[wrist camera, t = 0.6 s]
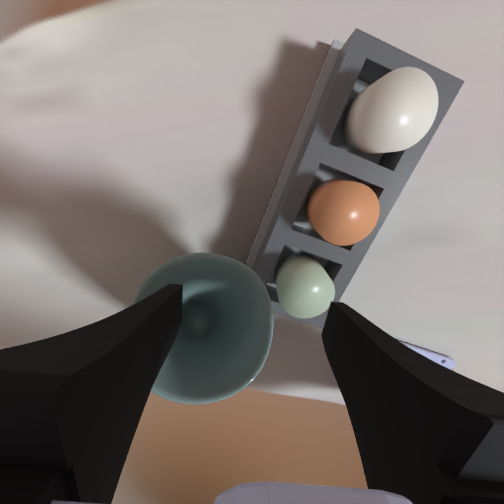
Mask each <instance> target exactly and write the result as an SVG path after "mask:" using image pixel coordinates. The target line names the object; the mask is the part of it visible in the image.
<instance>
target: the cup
mask: <svg viewBox="0 0 504 504" xmlns="http://www.w3.org/2000/svg"><path fill="white" fill-rule="evenodd" d="M168 284H179V285H183V300H182V322H181V325H180V328H179V331H178V334H177V336H176V339H175V341H174V343H173V345H172V347H171V350H170V352H169V354H168V356H167V358H166V360H165V362H164V364H163V366H162V368H161V370H160V372H159V374H158V376H157V378H156V380H155V382H154V384H153V387H152V389H151V392H152V393H154V394H156V395H158V396H160V397H162V398H164V399H166V400H170V401H173V402H177V403H181V404H195V405H198V404H206V403H214V402H217V401H220V400H223V399H226V398H229V397H231V396H233V395H235V394H236V393H238V392H240V391H242V390H243V389H244V388H245V387H246V386H248V385H249V384H250V383H251V382H252V381H253V380H254V379H255V378H256V376H257V375H258V373H259V372H260V371H261V369H262V368H263V365H264V363H265V361H266V359H267V357H268V354H269V351H270V347H271V343H272V337H273V328H274V322H273V309H272V304H271V299H270V297H269V294H268V292H267V289H266V287H265V285H264V284H263V282H262V280H261V279H260V277H259V276H258V275H257V274H256V273H255V272H254V271H253V270H252V269H251V268H250V267H248V266H246V265H245V264H243V263H242V262H240V261H238V260H236V259H233V258H231V257H228V256H224V255H220V254H215V253H192V254H185V255H182V256H178V257H175V258H172V259H170V260H168V261H166V262H165V263H163V264H161V265H159V266H158V267H157V268H156V269H155V270H154V271H152V272H151V273H150V274H149V275H148V276H147V278H146V279H145V280H144V282H143V283H142V284H141V286H140V287H139V289H138V291H137V293H136V295H135V297H134V299H133V301H132V304H131V306H132V305H134V304H136V303H138V302H139V301H141V300H143V299H145V298H146V297H148V296H150V295H151V294H153V293H155V292H156V291H158V290H160V289H161V288H163V287H165V286H166V285H168Z"/></svg>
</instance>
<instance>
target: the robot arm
mask: <svg viewBox="0 0 504 504" xmlns="http://www.w3.org/2000/svg"><path fill="white" fill-rule="evenodd" d="M182 300H183V285H179V284H168V285H166V286H165V287H163V288H161V289H160V290H158V291H156V292H155V293H153V294H151V295H150V296H148V297H146V298H145V299H143V300H141V301H139V302H138V303H136V304H134V305H132V306H130V307H128V308H126V309H124V310H122V311H120V312H118V313H116V314H114V315H112V316H110V317H107V318H105V319H102V320H100V321H98V322H95V323H93V324H90V325H87V326H84V327H81V328H78V329H76V330H73V331H70V332H67V333H64V334H60V335H57V336H54V337H50V338H47V339H43V340H39V341H36V342H32V343H28V344H24V345H19V346H15V347H10V348H5V349H1V350H0V504H111V502H112V499H113V496H114V493H115V490H116V487H117V484H118V481H119V478H120V475H121V472H122V468H123V466H124V463H125V460H126V457H127V454H128V451H129V448H130V446H131V443H132V440H133V437H134V434H135V432H136V429H137V426H138V423H139V420H140V418H141V415H142V412H143V410H144V407H145V404H146V402H147V399H148V396H149V394H150V391H151V389H152V387H153V384H154V382H155V380H156V378H157V376H158V374H159V372H160V370H161V368H162V366H163V364H164V362H165V360H166V358H167V356H168V354H169V352H170V350H171V347H172V345H173V343H174V341H175V339H176V336H177V334H178V331H179V328H180V325H181V322H182ZM322 340H323V344H324V348H325V352H326V355H327V358H328V360H329V363H330V366H331V368H332V371H333V373H334V376H335V378H336V381H337V383H338V386H339V388H340V391H341V393H342V396H343V398H344V401H345V404H346V407H347V409H348V413H349V416H350V420H351V423H352V426H353V430H354V433H355V437H356V441H357V445H358V449H359V453H360V456H361V460H362V464H363V468H364V473H365V477H366V481H367V486H368V489H359V488H346V487H333V486H320V485H306V484H293V483H292V484H291V483H279V482H266V481H265V482H253V483H242V484H239V485H237V486H235V487H232V488H231V489H228V490H226V491H224V492H222V493H221V494H220V495H219V496H218V497H217V498H216V499H215V501H214V502H213V504H504V393H503V392H500V391H497V390H495V389H493V388H490V387H488V386H486V385H483V384H481V383H479V382H476V381H474V380H471V379H469V378H467V377H465V376H463V375H461V374H458V373H456V372H454V371H453V370H452V368H453V367H454V366H455V364H456V362H455V360H454V359H452V358H450V357H447V356H444V355H441V354H438V353H434V352H431V351H428V350H425V349H422V348H419V347H416V346H413V345H410V344H407V343H404V342H401V341H398V340H396V339H395V338H393V337H392V336H390V335H389V334H387V333H386V332H384V331H383V330H381V329H380V328H379V327H377V326H376V325H374V324H373V323H372V322H370V321H369V320H367V319H366V318H365V317H363V316H362V315H361V314H359V313H358V312H356V311H355V310H354V309H352V308H351V307H349V306H348V305H346V304H344V303H341V302H332V301H331V303H330V306H329V310H328V313H327V317H326V321H325V324H324V328H323V331H322Z"/></svg>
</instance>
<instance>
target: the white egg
mask: <svg viewBox="0 0 504 504" xmlns="http://www.w3.org/2000/svg"><path fill="white" fill-rule="evenodd" d="M437 110H438V92H437V88H436V85H435V83H434V81H433V79H432V78H431V77H430V76H429V75H428V74H427V73H426V72H424V71H423V70H421V69H418V68H414V67H402V68H398V69H395V70H393V71H391V72H389V73H387V74H386V75H384V76H383V77H381V78H380V79H378V80H377V81H376V82H374V83H373V84H371V85H370V86H368V87H367V88H365V89H364V90H362V91H361V92H360V93H358V94H357V95H356V96H355V97H354V98H353V99H352V101H351V102H350V104H349V105H348V107H347V109H346V111H345V114H344V118H343V133H344V137H345V140H346V141H347V143H348V145H349V146H350V147H351V148H352V149H353V150H355V151H357V152H359V153H362V154H377V153H387V152H397V151H402V150H405V149H407V148H410V147H411V146H413V145H415V144H416V143H417V142H419V141H420V140H421V139H422V138H423V137H424V136H425V135H426V133H427V132H428V131H429V129H430V128H431V126H432V124H433V122H434V120H435V117H436V114H437Z"/></svg>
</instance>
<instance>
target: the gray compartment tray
mask: <svg viewBox="0 0 504 504" xmlns="http://www.w3.org/2000/svg"><path fill="white" fill-rule="evenodd" d="M402 67H414V68H418V69H421V70H423V71H424V72H426V73H427V74H428V75H429V76H430V77H431V78H432V79H433V81H434V83H435V85H436V88H437V92H438V110H437V114H436V117H435V120H434V122H433V124H432V126H431V128H430V129H429V131H428V132H427V133H426V135H425V136H424V137H423V138H422V139H421V140H420V141H419V142H417V143H416V144H415V145H413V146H411V147H410V148H407V149H405V150H402V151H397V152H387V153H377V154H362V153H359V152H357V151H355V150H353V149H352V148H351V147H350V146H349V145H348V143H347V141H346V140H345V137H344V133H343V118H344V114H345V111H346V109H347V107H348V105H349V104H350V102H351V101H352V99H353V98H354V97H355V96H356V95H357V94H358V93H360V92H361V91H362V90H364V89H365V88H367V87H368V86H370V85H371V84H373V83H374V82H376V81H377V80H378V79H380V78H381V77H383V76H384V75H386V74H387V73H389V72H391V71H393V70H395V69H398V68H402ZM463 83H464V81H463V80H461V79H459V78H457V77H455V76H453V75H451V74H449V73H447V72H445V71H443V70H440V69H438V68H436V67H434V66H432V65H430V64H428V63H426V62H424V61H422V60H420V59H418V58H416V57H414V56H412V55H410V54H408V53H406V52H404V51H402V50H400V49H398V48H396V47H394V46H392V45H390V44H388V43H386V42H384V41H382V40H380V39H378V38H376V37H373V36H371V35H369V34H367V33H365V32H363V31H361V30H359V29H357V28H356V29H355V31H354V32H353V33H352V35H351V36H350V37H349V39H348V40H347V41H346V43H343V42H340V41H338V40H336V39H334V41H333V42H332V44H331V46H330V48H329V51H328V53H327V56H326V58H325V61H324V64H323V66H322V69H321V71H320V74H319V76H318V79H317V81H316V84H315V87H314V89H313V92H312V94H311V97H310V99H309V102H308V105H307V107H306V110H305V112H304V115H303V117H302V120H301V122H300V125H299V128H298V130H297V133H296V135H295V138H294V140H293V143H292V146H291V148H290V151H289V153H288V156H287V158H286V161H285V164H284V166H283V169H282V171H281V174H280V176H279V179H278V181H277V184H276V187H275V189H274V192H273V194H272V197H271V199H270V202H269V205H268V207H267V210H266V212H265V215H264V217H263V220H262V222H261V225H260V228H259V230H258V233H257V235H256V238H255V240H254V243H253V246H252V248H251V251H250V253H249V256H248V258H247V261H246V263H245V265H246V266H248V267H250V268H251V269H252V270H253V271H254V272H255V273H256V274H257V275H258V276H259V277H260V279H261V280H262V282H263V284H264V285H265V287H266V289H267V292H268V294H269V297H270V299H271V304H272V309H273V313H277V314H280V315H283V316H286V317H289V318H292V319H295V320H298V321H302V322H305V323H308V324H311V325H314V326H317V327H320V328H324V324H325V321H326V317H327V313H328V310H329V308H328V309H327V310H326V311H325V312H323V313H322V314H320V315H318V316H316V317H312V318H297V317H294V316H291V315H289V314H288V313H286V312H285V311H284V310H283V309H282V307H281V305H280V303H279V300H278V295H277V290H276V285H275V279H274V274H275V270H276V267H277V266H278V264H279V263H280V262H281V261H282V260H283V259H284V258H285V257H287V256H289V255H292V254H296V253H305V254H309V255H311V256H313V257H315V258H316V259H317V260H318V261H319V263H320V264H321V265H322V267H323V268H324V270H325V271H326V273H327V274H328V276H329V277H330V278H331V280H332V282H333V284H334V287H335V296H334V300H333V302H339V300H340V298H341V296H342V295H343V293H344V291H345V289H346V288H347V286H348V284H349V282H350V281H351V279H352V277H353V275H354V274H355V272H356V270H357V268H358V267H359V265H360V263H361V261H362V260H363V258H364V256H365V254H366V253H367V251H368V249H369V247H370V246H371V244H372V242H373V240H374V239H375V237H376V235H377V233H378V232H379V230H380V228H381V226H382V225H383V223H384V221H385V219H386V218H387V216H388V214H389V212H390V211H391V209H392V207H393V205H394V204H395V202H396V200H397V198H398V197H399V195H400V193H401V191H402V190H403V188H404V186H405V184H406V183H407V181H408V179H409V177H410V176H411V174H412V172H413V170H414V169H415V167H416V165H417V163H418V162H419V160H420V158H421V156H422V155H423V153H424V151H425V149H426V148H427V146H428V144H429V142H430V141H431V139H432V137H433V135H434V134H435V132H436V130H437V128H438V127H439V125H440V123H441V121H442V120H443V118H444V116H445V114H446V113H447V111H448V109H449V107H450V106H451V104H452V102H453V101H454V99H455V97H456V95H457V94H458V92H459V90H460V88H461V87H462V85H463ZM330 179H340V180H346V181H353V182H359V183H362V184H364V185H366V186H368V187H369V188H371V189H372V190H373V192H374V193H375V194H376V196H377V198H378V201H379V205H380V213H379V218H378V221H377V223H376V226H375V227H374V229H373V230H372V231H371V233H370V234H369V235H368V236H367V237H365V238H364V239H363V240H361V241H359V242H357V243H355V244H352V245H346V246H339V245H334V244H331V243H329V242H328V241H326V240H325V239H324V238H322V237H321V236H320V235H319V233H318V232H317V231H316V230H315V229H314V228H313V227H312V226H311V225H310V224H309V222H308V221H307V219H306V215H305V203H306V200H307V197H308V195H309V194H310V192H311V191H312V190H313V188H315V187H316V186H317V185H318V184H320V183H322V182H324V181H326V180H330Z"/></svg>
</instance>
